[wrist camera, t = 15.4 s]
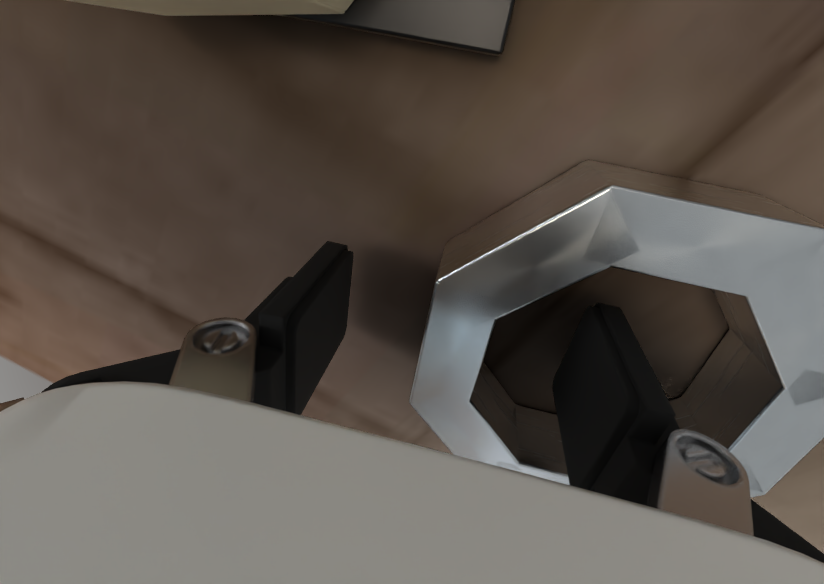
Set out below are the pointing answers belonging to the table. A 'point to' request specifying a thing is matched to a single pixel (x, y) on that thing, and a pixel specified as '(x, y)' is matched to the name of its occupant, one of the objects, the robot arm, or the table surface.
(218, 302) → the table surface
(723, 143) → the table surface
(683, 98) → the table surface
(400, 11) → the stand
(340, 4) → the ivory ring
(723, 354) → the steel ring
